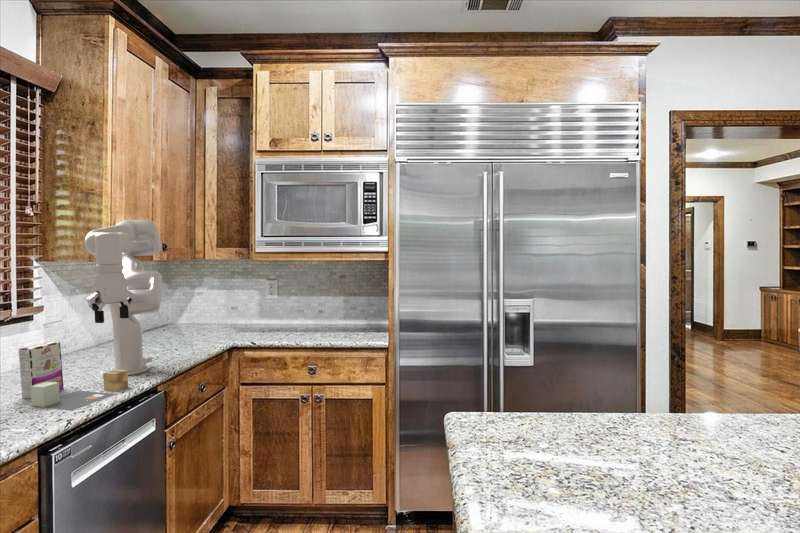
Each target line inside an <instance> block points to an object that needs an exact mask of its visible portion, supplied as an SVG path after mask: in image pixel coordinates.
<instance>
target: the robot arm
mask: <svg viewBox="0 0 800 533" xmlns="http://www.w3.org/2000/svg"><path fill="white" fill-rule="evenodd" d="M83 243H84V248H85V250H86V252H87V253H88V254H89V255H94V256H95V264H96V265H95V266H96V274H94V276H93V282H92V294H91V295H90V296H88V297H87V298H86V302H87V303H88V304H87V305H88V306H89V308H90V309H91V310H92V311H93V313H94V324H103V323H105V311H104V310H103V308H104V307H105V306H106V305H108V306H109V310H110V314H111V320H112V335H113V336H112V338H113V356H114V369H112V370H116V369H118V370H127V371H128V376H133V375H139V374H143V373H145V372H147V371H148V370H149V367H148V365H147V363H151V362H153V357H151V356H149V357H144V354H143V353H144V351H143V334H142V333H143V332H142V331H143V330H142V329H143V328H142V324H141V322H140V321H139V320H138V318H136V317H135V316H136V315H145V314H155V313H157V312H159V310H160V309H161V306H162V304H161V303H162V296H163V288H164V287H163V281H164V280H163V277H162V275H161V273H160V272H159V271H157V270H145V266H144V264H143V263H142V261H140V260H139V259H138V258H136V257H139V256H140V257H141V256H144V257H145V256H157V255H159V254H161V252H162V249H163V248H162V247H163V246H162V245H163V244H162V240H161V236H160V233H159V230H158V226H156V223H154V221H152V220H150V219H124V220H121V221H119V222H117V223H116V224H115V225H110V226H105V227H102V228H96V229H93V230H91V231H89V232H88V233H87V234H86V236H85V238H84V242H83ZM112 370H110V371H112Z"/></svg>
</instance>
